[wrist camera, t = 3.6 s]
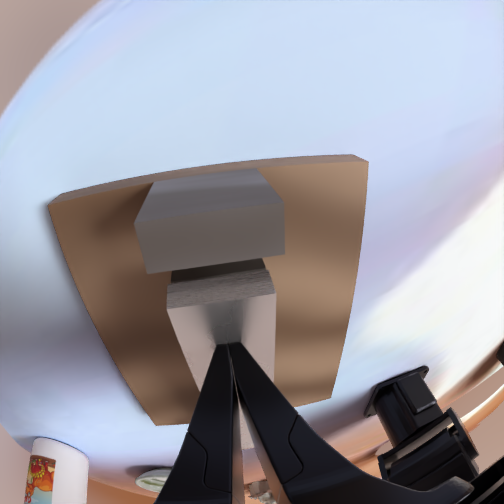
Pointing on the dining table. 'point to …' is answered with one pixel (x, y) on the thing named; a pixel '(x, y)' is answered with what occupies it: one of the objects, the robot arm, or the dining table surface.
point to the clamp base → (291, 274)
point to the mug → (501, 354)
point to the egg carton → (262, 492)
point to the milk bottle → (56, 474)
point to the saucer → (153, 479)
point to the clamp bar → (225, 322)
